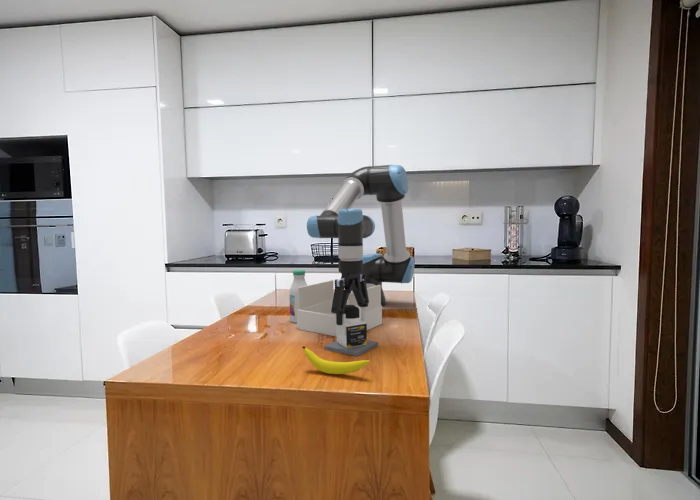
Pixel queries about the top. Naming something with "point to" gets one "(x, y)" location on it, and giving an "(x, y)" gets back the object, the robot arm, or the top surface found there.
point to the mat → (351, 351)
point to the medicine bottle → (353, 328)
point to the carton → (319, 304)
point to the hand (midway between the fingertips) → (351, 330)
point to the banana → (334, 364)
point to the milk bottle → (296, 293)
